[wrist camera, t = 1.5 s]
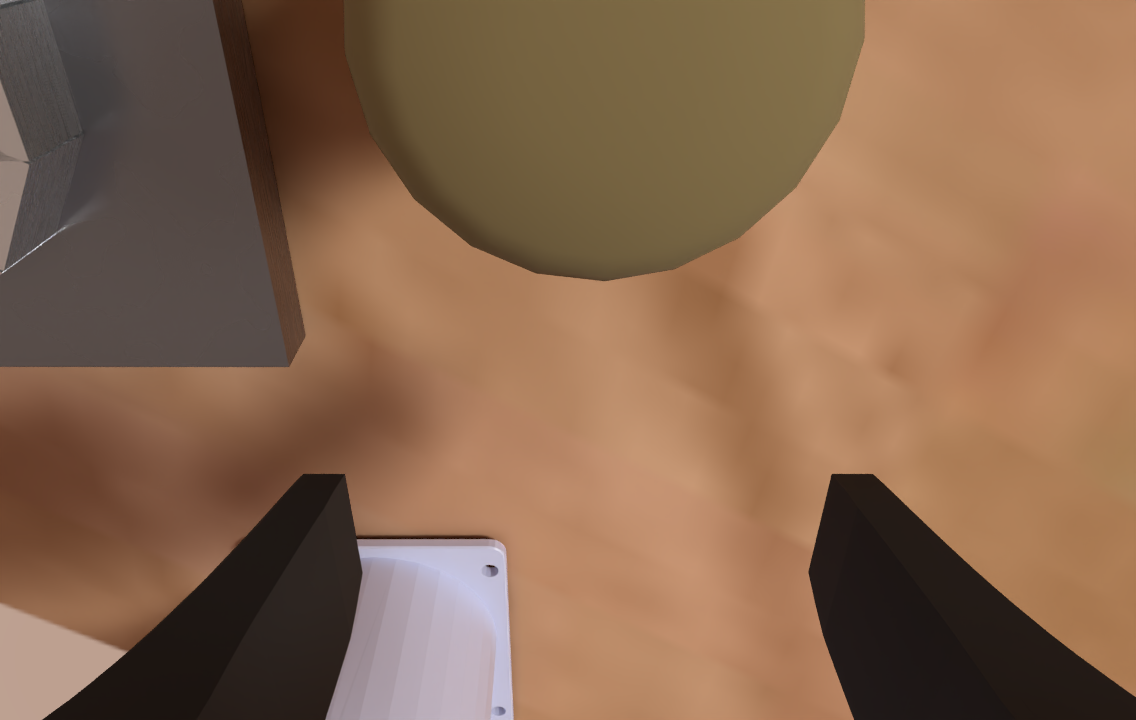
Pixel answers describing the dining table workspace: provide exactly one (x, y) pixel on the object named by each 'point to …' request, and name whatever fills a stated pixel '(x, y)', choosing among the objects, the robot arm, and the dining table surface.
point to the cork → (601, 118)
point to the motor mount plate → (138, 190)
